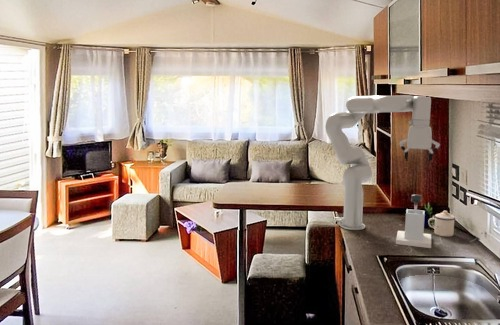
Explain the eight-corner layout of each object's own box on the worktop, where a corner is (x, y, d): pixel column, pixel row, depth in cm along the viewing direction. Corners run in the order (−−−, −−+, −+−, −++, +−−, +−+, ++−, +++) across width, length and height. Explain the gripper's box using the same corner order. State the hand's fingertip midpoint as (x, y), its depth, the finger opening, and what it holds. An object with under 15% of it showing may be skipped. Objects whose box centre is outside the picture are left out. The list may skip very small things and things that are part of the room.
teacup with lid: (454, 232, 220) (456, 209, 218) (453, 238, 212) (454, 214, 210) (428, 229, 226) (430, 207, 224) (426, 234, 218) (427, 211, 216)
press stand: (395, 244, 203) (397, 214, 201) (397, 234, 217) (399, 206, 215) (431, 248, 198) (433, 217, 196) (430, 238, 212) (432, 209, 210)
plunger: (407, 233, 205) (409, 195, 203) (407, 230, 211) (410, 193, 208) (420, 235, 203) (422, 197, 201) (420, 231, 209) (423, 194, 206)
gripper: (399, 123, 199) (397, 161, 202) (441, 124, 193) (438, 163, 195) (400, 122, 206) (398, 159, 209) (441, 123, 200) (438, 161, 202)
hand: (418, 161), depth 202 cm, fingers open, 9 cm apart
